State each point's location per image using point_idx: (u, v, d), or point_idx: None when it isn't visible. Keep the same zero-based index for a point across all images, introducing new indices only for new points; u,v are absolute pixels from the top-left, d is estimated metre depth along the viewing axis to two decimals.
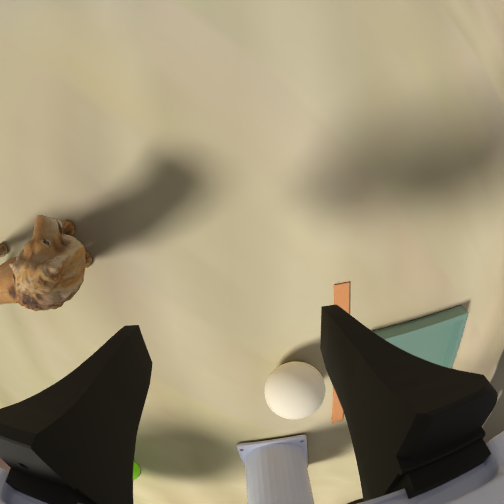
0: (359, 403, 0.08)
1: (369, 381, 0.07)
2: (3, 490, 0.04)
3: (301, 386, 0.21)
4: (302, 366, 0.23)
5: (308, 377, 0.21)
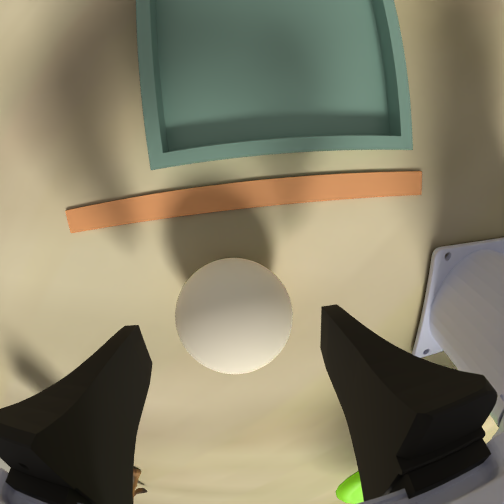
0: (359, 403, 0.08)
1: (369, 381, 0.07)
2: (3, 490, 0.04)
3: (181, 332, 0.11)
4: None
5: (177, 309, 0.12)
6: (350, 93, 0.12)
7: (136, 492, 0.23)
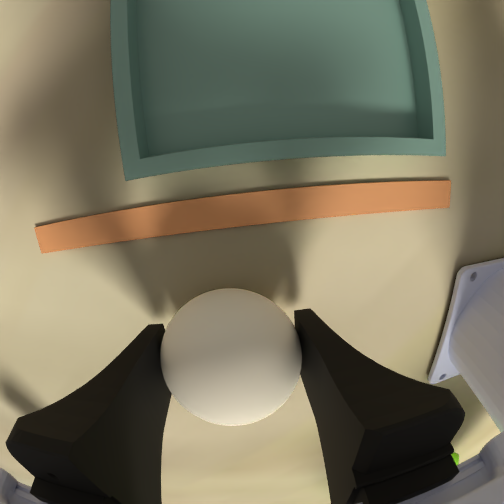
0: (325, 410, 0.08)
1: (330, 389, 0.07)
2: (3, 490, 0.04)
3: (167, 381, 0.09)
4: None
5: (162, 353, 0.09)
6: (373, 85, 0.09)
7: None
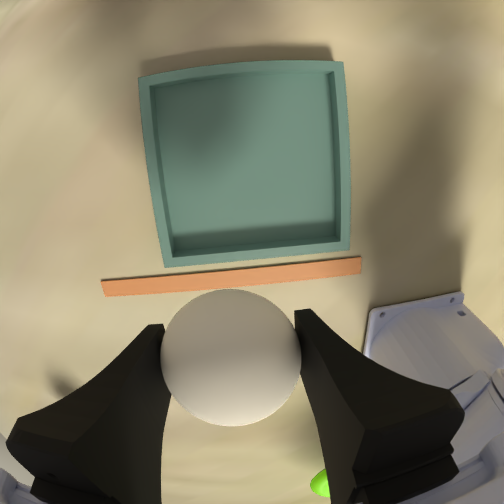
0: (325, 410, 0.08)
1: (330, 389, 0.07)
2: (3, 490, 0.04)
3: (167, 382, 0.09)
4: None
5: (162, 353, 0.09)
6: (305, 208, 0.18)
7: None
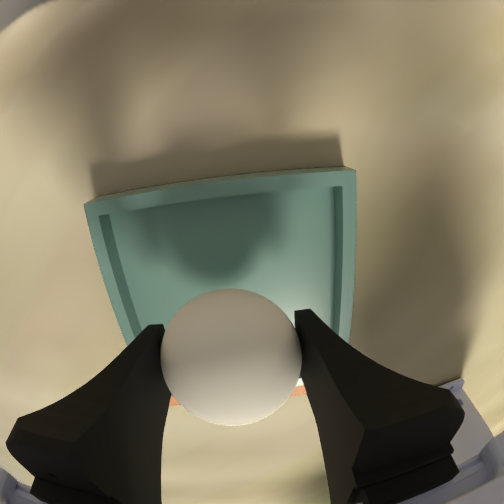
0: (324, 410, 0.08)
1: (330, 389, 0.07)
2: (3, 490, 0.04)
3: (167, 381, 0.09)
4: None
5: (162, 353, 0.09)
6: None
7: None
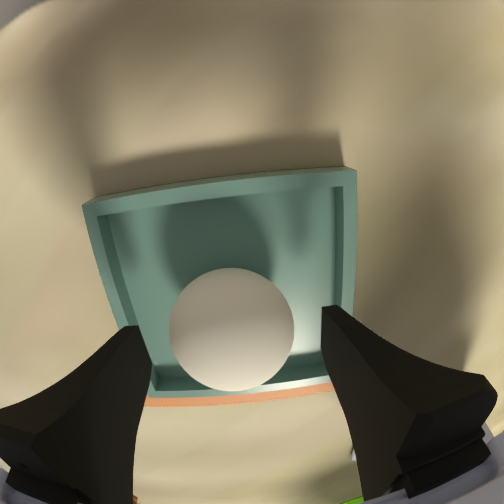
0: (359, 403, 0.08)
1: (369, 381, 0.07)
2: (3, 490, 0.04)
3: (175, 349, 0.10)
4: None
5: (170, 324, 0.11)
6: (298, 340, 0.15)
7: None
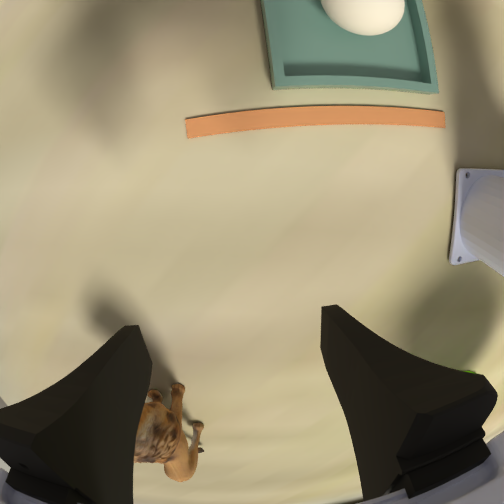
0: (359, 403, 0.08)
1: (369, 381, 0.07)
2: (3, 490, 0.04)
3: None
4: None
5: None
6: (397, 56, 0.15)
7: None
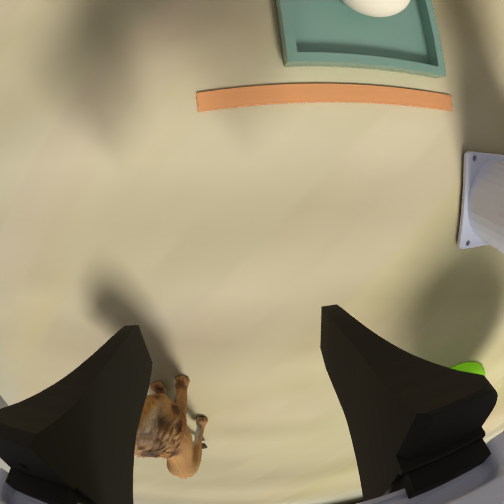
0: (359, 403, 0.08)
1: (369, 381, 0.07)
2: (3, 490, 0.04)
3: None
4: None
5: None
6: (405, 39, 0.15)
7: None
